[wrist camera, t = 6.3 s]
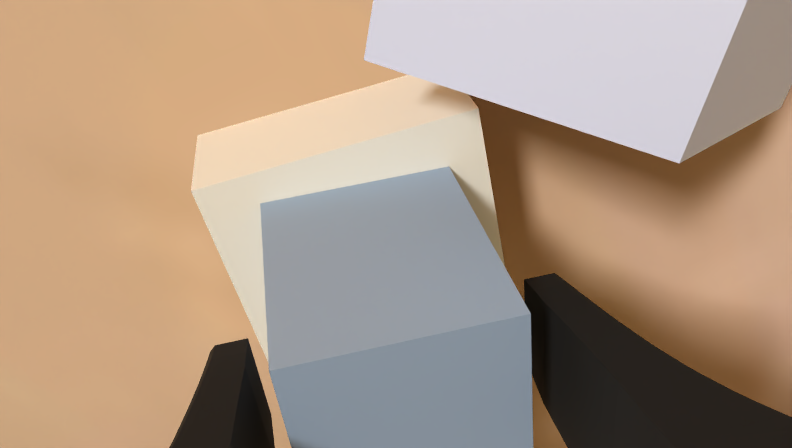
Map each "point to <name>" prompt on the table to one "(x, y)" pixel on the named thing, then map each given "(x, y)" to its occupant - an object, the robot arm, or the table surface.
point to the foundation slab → (333, 164)
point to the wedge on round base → (602, 62)
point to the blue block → (394, 320)
